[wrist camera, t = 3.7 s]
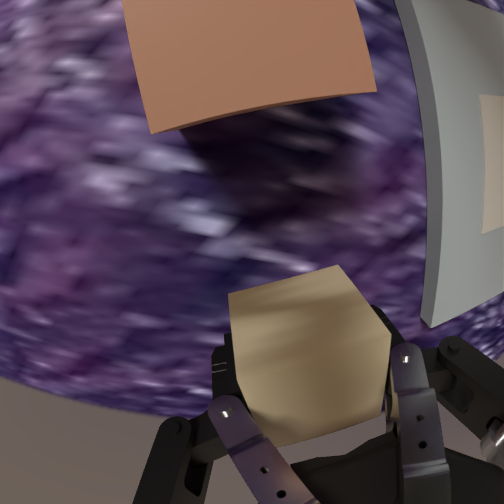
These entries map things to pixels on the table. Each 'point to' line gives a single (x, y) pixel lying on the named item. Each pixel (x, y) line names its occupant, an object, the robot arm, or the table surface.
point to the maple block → (308, 355)
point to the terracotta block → (242, 56)
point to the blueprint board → (460, 149)
